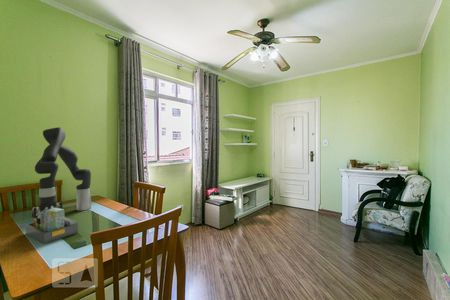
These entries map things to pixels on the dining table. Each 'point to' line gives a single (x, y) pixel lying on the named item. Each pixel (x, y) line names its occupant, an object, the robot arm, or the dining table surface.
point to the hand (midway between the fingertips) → (48, 221)
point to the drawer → (43, 237)
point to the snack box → (50, 220)
